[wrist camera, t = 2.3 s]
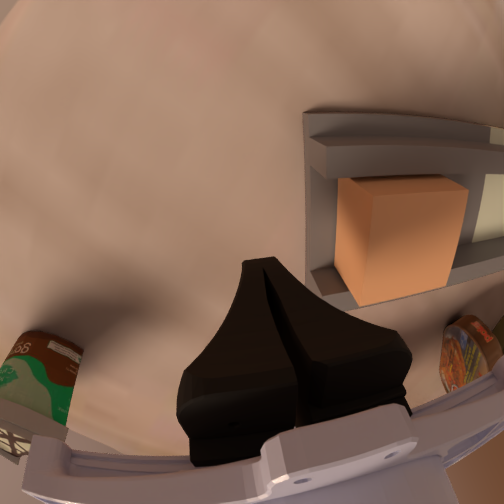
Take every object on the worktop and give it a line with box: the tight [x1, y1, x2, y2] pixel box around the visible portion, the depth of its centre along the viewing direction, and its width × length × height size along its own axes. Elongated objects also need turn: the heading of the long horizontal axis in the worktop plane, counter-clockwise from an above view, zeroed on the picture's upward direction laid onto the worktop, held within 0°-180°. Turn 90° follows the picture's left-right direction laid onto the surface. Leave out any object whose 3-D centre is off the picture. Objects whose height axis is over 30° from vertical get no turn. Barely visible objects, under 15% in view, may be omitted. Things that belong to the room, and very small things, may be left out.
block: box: [334, 174, 469, 307], centre depth 15 cm, size 6×6×4 cm
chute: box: [303, 112, 504, 312], centre depth 17 cm, size 12×22×4 cm, turn 95°
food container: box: [0, 331, 84, 465], centre depth 17 cm, size 12×6×10 cm, turn 127°
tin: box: [439, 315, 503, 393], centre depth 25 cm, size 15×3×8 cm, turn 23°
